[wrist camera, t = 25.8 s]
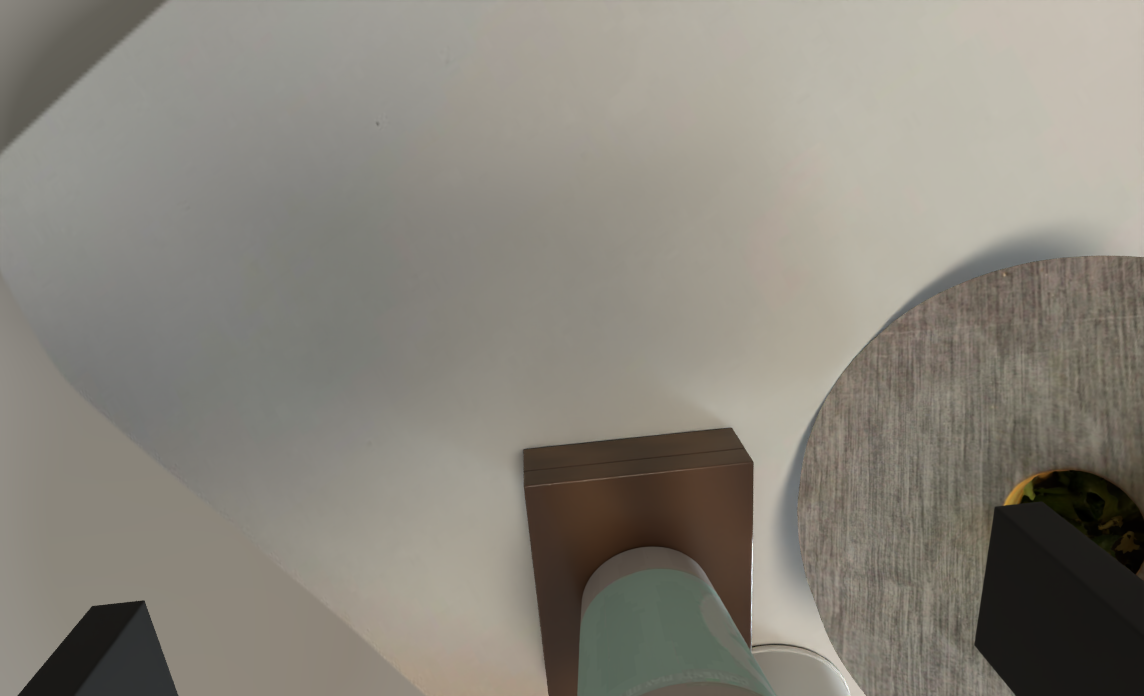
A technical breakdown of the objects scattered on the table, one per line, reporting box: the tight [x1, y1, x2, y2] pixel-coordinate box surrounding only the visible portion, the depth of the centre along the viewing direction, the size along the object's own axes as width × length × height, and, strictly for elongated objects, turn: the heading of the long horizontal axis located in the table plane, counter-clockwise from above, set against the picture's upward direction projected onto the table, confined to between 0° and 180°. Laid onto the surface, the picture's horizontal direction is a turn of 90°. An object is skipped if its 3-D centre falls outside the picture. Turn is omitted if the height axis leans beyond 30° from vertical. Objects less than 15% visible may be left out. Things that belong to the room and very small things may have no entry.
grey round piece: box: [797, 256, 1144, 696], centre depth 36 cm, size 25×18×25 cm
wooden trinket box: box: [523, 428, 753, 696], centre depth 41 cm, size 12×16×4 cm
